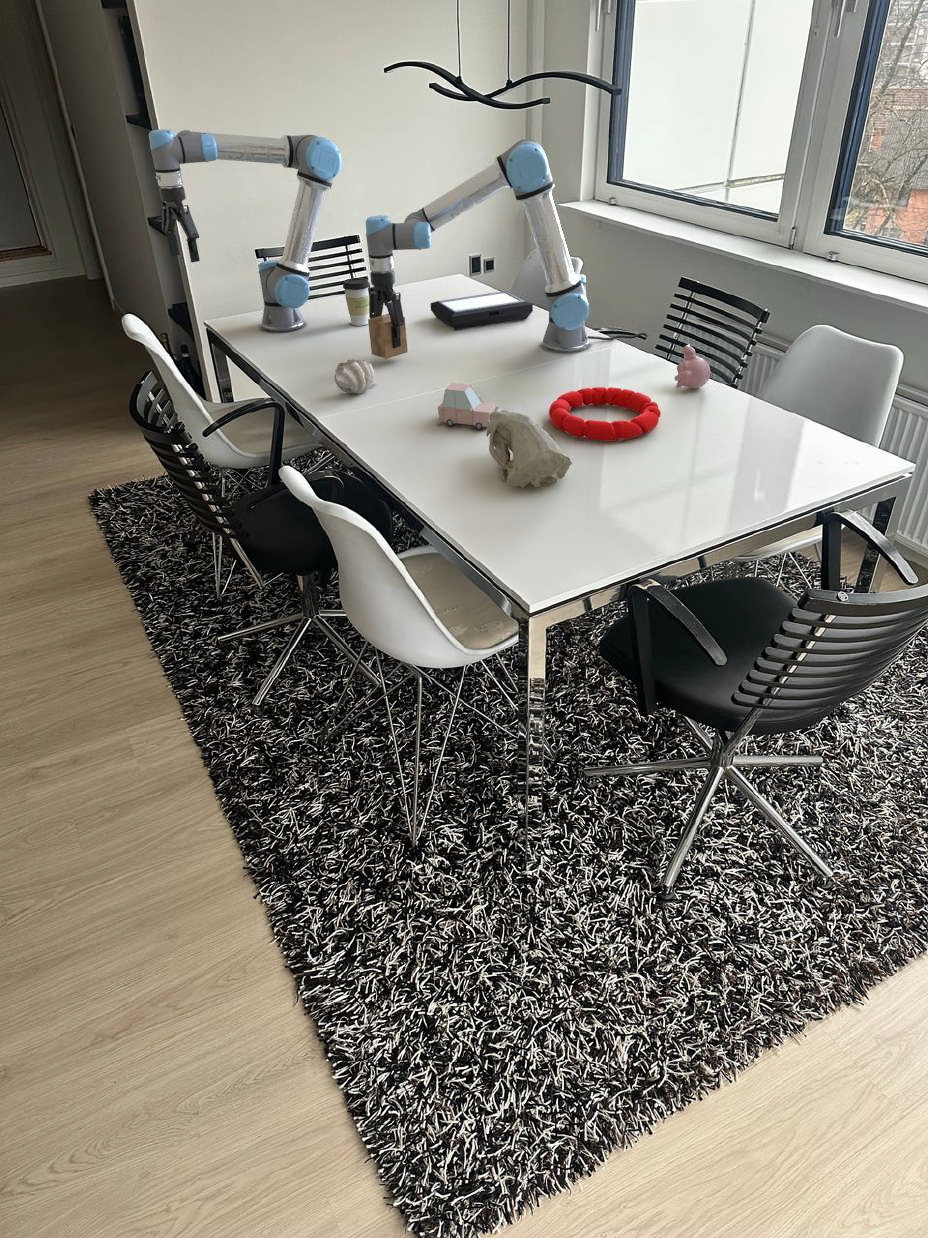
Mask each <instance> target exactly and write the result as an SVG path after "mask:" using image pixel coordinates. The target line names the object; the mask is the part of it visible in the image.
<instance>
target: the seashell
mask: <svg viewBox="0 0 928 1238" xmlns="http://www.w3.org/2000/svg"><path fill="white" fill-rule="evenodd" d="M333 377H334V382H335V384H336V386H337V387H338V388H339V390H340V391H342V393H345V394H353V393H354V394H362V393H365V392H366V391H367V390H368V389H370V387H371V385H372V383H373V382H374V379H375V370H374V368H373V366H372V364H371V363H370V362H368V363H367V361H365V360H364V359H363V360H360V359H348V360H347V361H346V362H339V363H338V364H337V367H336V368H335V372H334V376H333Z"/></svg>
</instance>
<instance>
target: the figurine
mask: <svg viewBox="0 0 928 1238" xmlns="http://www.w3.org/2000/svg"><path fill="white" fill-rule="evenodd" d="M682 354H683V358H684V359H683V361H682V362H679V363H678V364H677V365H676V372H677V375H675V376H674V381H675V382H676V381H677V382H676V384H675V386H676V388H681V387H686V388H688V389H693V390H694V389H695V390H696V389H700V388H703V387H704V386H705V385H706V384H707V383H708V382H709V379H710V377H711V367H710V364H709V362H708V361H706V359H704V358H702V357H700V356H697V353H696V350H695V349H694V347H692V345H690V344H686V345H685V346H684V347H683V348H682Z"/></svg>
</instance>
